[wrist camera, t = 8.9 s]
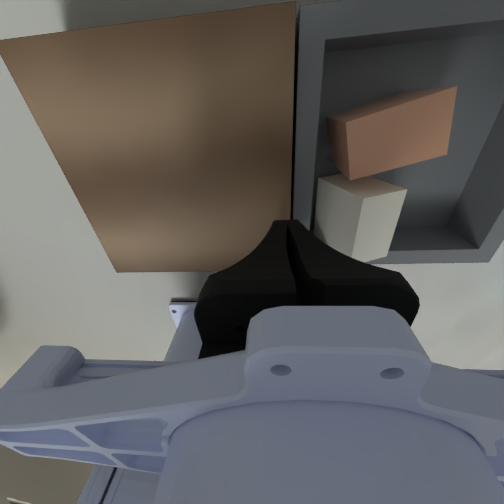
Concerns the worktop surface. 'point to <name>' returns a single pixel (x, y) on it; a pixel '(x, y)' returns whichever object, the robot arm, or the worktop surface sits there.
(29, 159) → the worktop surface
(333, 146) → the terracotta block
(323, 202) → the cream block
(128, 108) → the walnut board
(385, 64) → the charcoal tray
